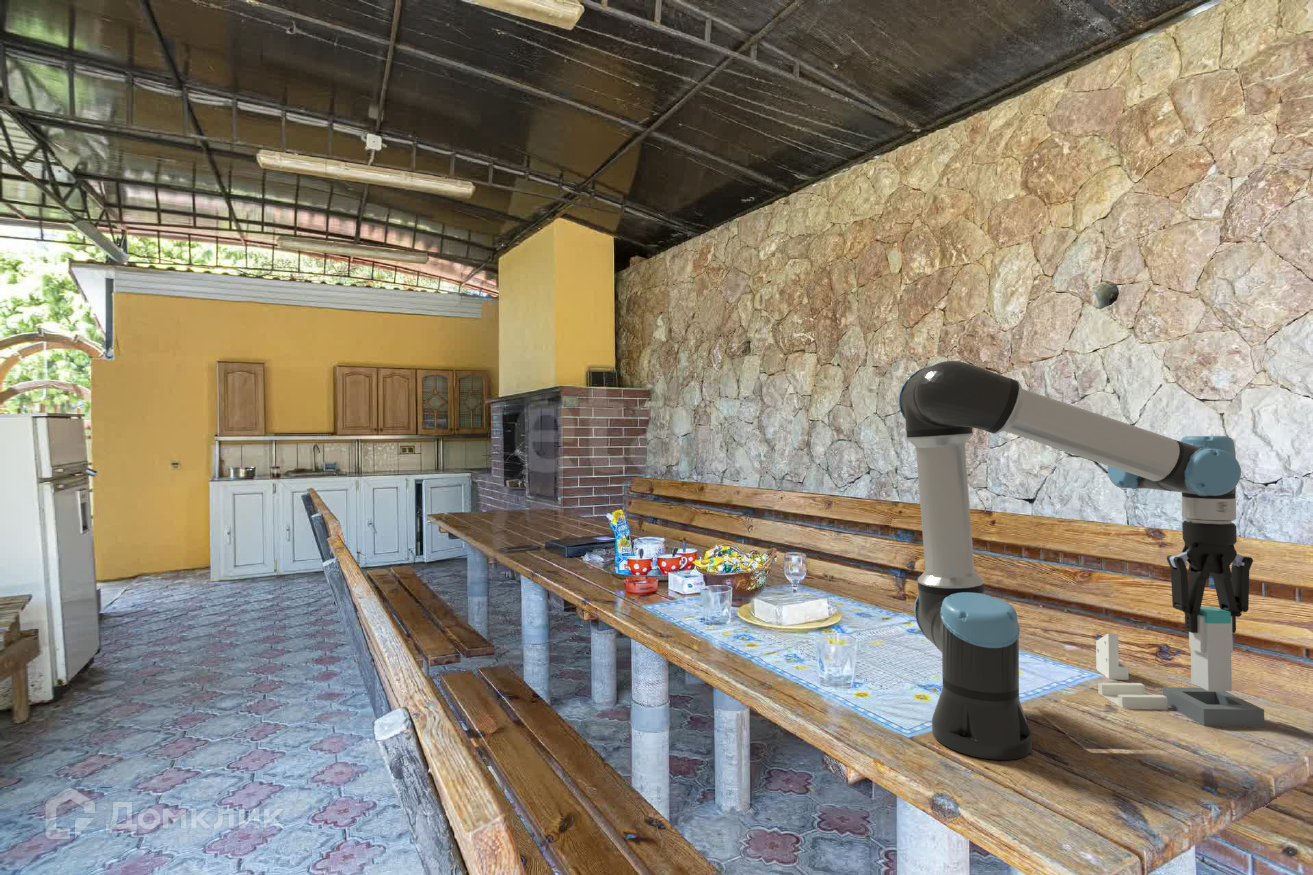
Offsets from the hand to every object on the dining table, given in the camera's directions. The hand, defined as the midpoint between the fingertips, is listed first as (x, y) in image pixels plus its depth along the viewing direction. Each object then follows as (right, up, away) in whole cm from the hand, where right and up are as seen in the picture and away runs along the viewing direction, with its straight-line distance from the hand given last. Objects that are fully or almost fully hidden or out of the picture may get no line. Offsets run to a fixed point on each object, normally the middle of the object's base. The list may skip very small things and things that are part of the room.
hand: (1210, 650), depth 119 cm
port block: (0, -12, 0) cm, 12 cm away
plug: (0, -7, 0) cm, 7 cm away
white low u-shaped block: (-10, -12, +7) cm, 17 cm away
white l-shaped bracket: (-4, -13, +20) cm, 24 cm away
